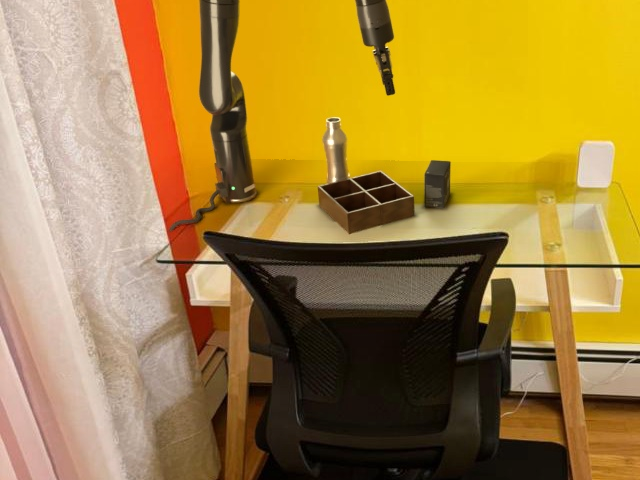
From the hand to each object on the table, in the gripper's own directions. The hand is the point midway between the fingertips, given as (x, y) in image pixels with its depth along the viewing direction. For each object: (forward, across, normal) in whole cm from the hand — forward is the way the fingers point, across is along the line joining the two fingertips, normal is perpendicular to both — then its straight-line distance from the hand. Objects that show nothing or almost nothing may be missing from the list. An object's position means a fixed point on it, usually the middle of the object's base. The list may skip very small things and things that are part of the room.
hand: (389, 89), depth 195 cm
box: (+31, +3, +6) cm, 32 cm away
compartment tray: (+28, +6, -13) cm, 31 cm away
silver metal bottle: (+26, -8, -19) cm, 33 cm away
